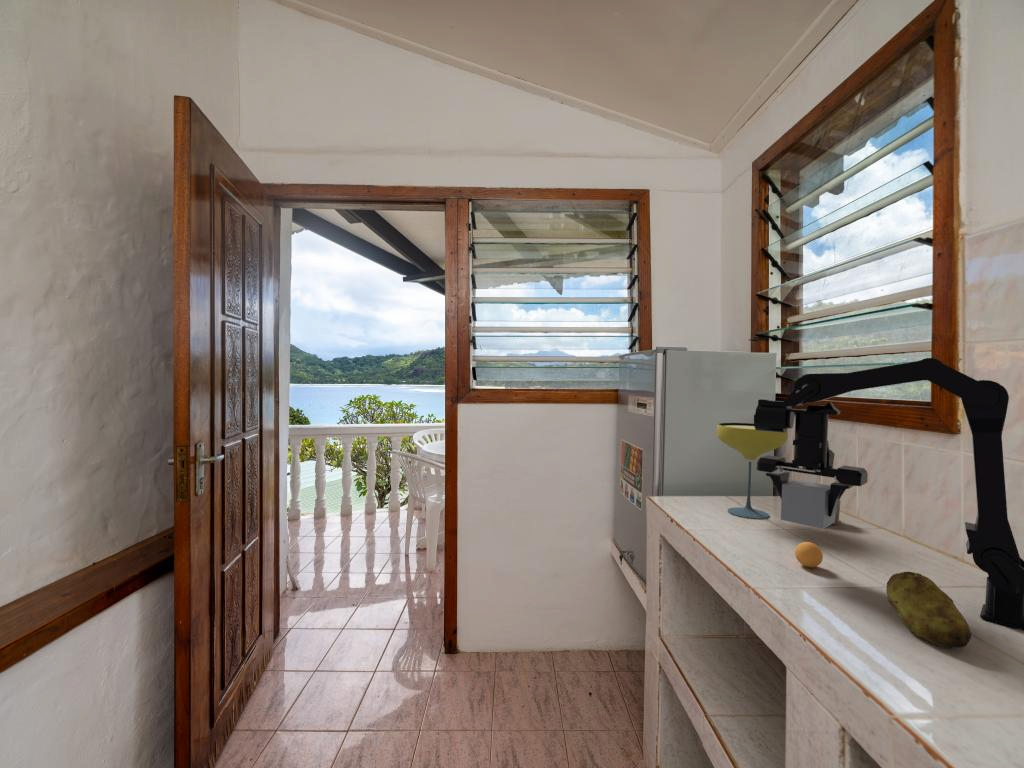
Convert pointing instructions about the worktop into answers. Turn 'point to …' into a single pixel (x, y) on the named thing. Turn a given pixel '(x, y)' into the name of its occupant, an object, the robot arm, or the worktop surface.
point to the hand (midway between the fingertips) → (807, 511)
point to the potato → (927, 610)
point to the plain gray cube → (806, 504)
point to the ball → (808, 554)
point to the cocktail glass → (749, 454)
